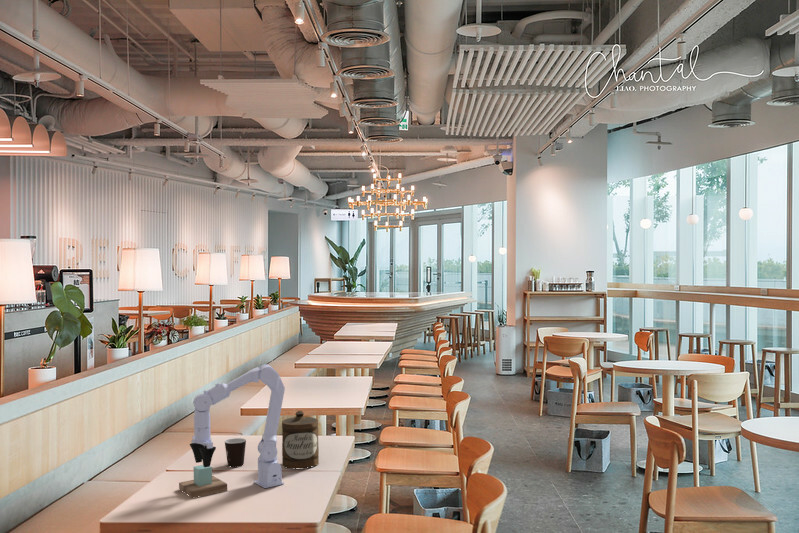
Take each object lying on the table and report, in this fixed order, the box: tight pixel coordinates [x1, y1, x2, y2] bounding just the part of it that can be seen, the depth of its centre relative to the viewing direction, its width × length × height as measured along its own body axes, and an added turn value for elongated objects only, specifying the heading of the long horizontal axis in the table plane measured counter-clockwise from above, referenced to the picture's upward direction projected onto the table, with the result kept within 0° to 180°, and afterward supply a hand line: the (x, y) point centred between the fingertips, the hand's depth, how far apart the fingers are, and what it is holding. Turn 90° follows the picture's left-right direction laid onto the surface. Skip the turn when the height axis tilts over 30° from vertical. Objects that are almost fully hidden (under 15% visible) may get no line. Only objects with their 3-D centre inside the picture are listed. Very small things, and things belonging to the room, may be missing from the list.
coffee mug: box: [224, 437, 247, 468], centre depth 281 cm, size 12×9×10 cm
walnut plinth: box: [178, 475, 228, 499], centre depth 247 cm, size 13×13×2 cm
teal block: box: [193, 464, 213, 486], centre depth 247 cm, size 5×5×6 cm
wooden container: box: [281, 410, 320, 470], centre depth 279 cm, size 15×15×22 cm
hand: (202, 464), depth 247 cm, fingers open, 7 cm apart
